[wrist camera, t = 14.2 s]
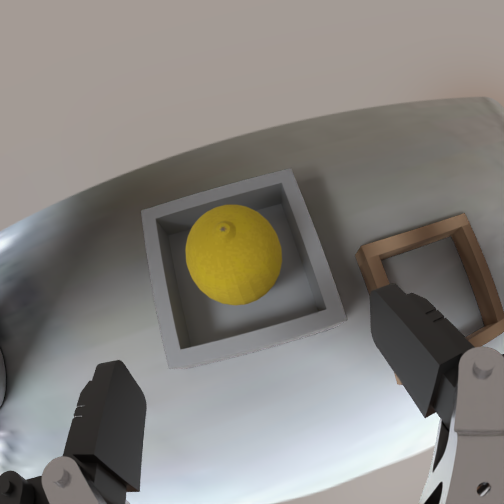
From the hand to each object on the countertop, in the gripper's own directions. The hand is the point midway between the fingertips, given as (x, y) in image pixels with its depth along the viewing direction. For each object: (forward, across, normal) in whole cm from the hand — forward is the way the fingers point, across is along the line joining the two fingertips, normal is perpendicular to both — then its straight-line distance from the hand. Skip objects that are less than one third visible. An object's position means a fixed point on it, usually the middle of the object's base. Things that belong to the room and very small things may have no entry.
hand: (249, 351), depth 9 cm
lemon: (+13, 0, +4) cm, 13 cm away
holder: (+13, 0, +5) cm, 14 cm away
